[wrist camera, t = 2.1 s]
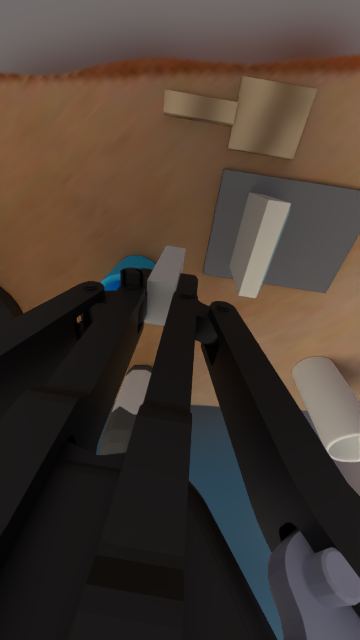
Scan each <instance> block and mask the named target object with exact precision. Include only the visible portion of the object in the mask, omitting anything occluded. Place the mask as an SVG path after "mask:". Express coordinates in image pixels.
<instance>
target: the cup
mask: <svg viewBox="0 0 360 640" xmlns="http://www.w3.org/2000/svg"><path fill="white" fill-rule="evenodd" d="M292 376H293V378H294V381H295V383H296V385H297V387H298V390H299V392H300V394H301V396H302V399H303V401H304V403H305V405H306V407H307V410H308V412H309V414H310V416H311V419H312V421H313V423H314V425H315V428H316V430H317V432H318V434H319V437H320V439H321V441H322V443H323V446H324V447H325V449H326V450H327V452H328V453H329V455H330V457H331V458H333V459H335V460H338V461H343V462H358V461H360V401H359V400H358V398H357V397H356V395H355V394H354V392H353V391H352V389H351V388H350V387H349V385H348V384H347V382H346V381H345V379H344V378H343V376H342V375H341V374H340V372H339V371H338V369H337V368H336V366H335V365H334V363H333V362H332V361H331V360H330V359H328V358H325V357H319V356H317V357H310V358H306V359H304V360H302V361H300V362H299V363H297V364H296V365H295V366H294V368H293V370H292Z"/></svg>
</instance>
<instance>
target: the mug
mask: <svg viewBox="0 0 360 640" xmlns="http://www.w3.org/2000/svg"><path fill="white" fill-rule="evenodd" d="M155 265H156V264H154V263H153V262H152V261H151V260H150V259H148V258H145V257H143V256H138V255H133V256H128V257H126V258H124V259H123V260H121V261H120V262H119V263H118V264H117V265H116V267H115V268H114V269H113V270H112V271H111V272H110V273H109V274H108V275H107V276H106V277H105V278H104V279H103V280H102V282H101V284H103V285H104V290H105V291H114V290H117V289H118V288H119V286H120V285H121V281H120V270H122V269H124V268H130V267H132V268H139V269H141V268H148V269H154V267H155ZM145 319H146V317H145ZM145 319H144V320H145Z"/></svg>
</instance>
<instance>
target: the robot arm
mask: <svg viewBox="0 0 360 640" xmlns="http://www.w3.org/2000/svg"><path fill="white" fill-rule="evenodd" d="M185 250H186V248H180V247H174V246H167V245H166V247H165V249H164V251H163V252H162V254H161V256H160V258H159V260H158V262H157V263H156V265H155V267H154V269H148V268H141V269H139V268H132V267H130V268H124V269H122V270H120V281H121V285H120V286H119V288H118V289H117V290H114V291H105V290H104V285H103V284H101V283H99V282H95V281H92V282H91V281H88V282H84V283H81V284H79V285H77V286H75V287H73V288H71V289H69V290H67V291H65V292H64V293H62V294H60V295H58V296H56V297H54V298H52V299H50V300H48V301H47V302H45V303H43V304H41V305H39V306H37V307H35V308H33V309H32V310H30V311H28V312H26V313H24V314H22V312H21V310H20V308H19V307H18V305H17V304H16V302H15V301H14V300H13V299H12V298H11V297H10V296H9V295H8V294H7V293H6V292H5V291H4V290H3V289H1V288H0V640H277V638H276V636H275V634H274V632H273V630H272V628H271V626H270V625H269V623H268V621H267V619H266V617H265V615H264V613H263V611H262V609H261V607H260V605H259V603H258V602H257V600H256V598H255V596H254V594H253V592H252V590H251V588H250V586H249V584H248V583H247V581H246V579H245V577H244V575H243V573H242V571H241V569H240V567H239V565H238V563H237V561H236V559H235V558H234V556H233V554H232V552H231V550H230V548H229V546H228V544H227V542H226V540H225V539H224V536H223V535H222V533H221V531H220V529H219V527H218V525H217V523H216V521H215V519H214V517H213V515H212V514H211V512H210V510H209V508H208V506H207V504H206V502H205V501H204V499H203V497H202V496H201V495H200V493H199V492H198V490H197V489H196V488H195V487H194V486H193V484H192V483H191V482H190V481H189V465H190V446H191V430H192V413H190V405H191V390H192V375H193V361H194V346H195V340H197V341H199V342H201V348H202V352H203V355H204V358H205V361H206V364H207V367H208V370H209V374H210V377H211V380H212V383H213V386H214V389H215V392H216V396H217V399H218V402H219V405H220V408H221V411H222V414H223V417H224V421H225V424H226V426H227V430H228V433H229V437H230V439H231V443H232V446H233V449H234V452H235V455H236V459H237V461H238V465H239V468H240V471H241V474H242V477H243V481H244V484H245V487H246V490H247V493H248V496H249V499H250V502H251V505H252V508H253V510H254V513H255V516H256V519H257V521H258V524H259V526H260V529H261V531H262V533H263V535H264V537H265V539H266V542H267V544H268V546H269V548H270V550H271V552H272V554H271V556H270V559H269V563H268V579H269V585H270V590H271V593H272V595H273V599H274V601H275V604H276V607H277V610H278V613H279V616H280V619H281V624H282V630H283V635H284V640H360V496H359V495H358V494H357V493H356V492H355V491H354V490H353V488H351V486H350V485H349V484H348V483H347V482H346V480H345V478H344V477H343V475H342V474H341V472H340V471H339V469H338V467H337V466H336V465H335V463H334V461H333V460H332V458H331V457H330V455H329V453H328V452H327V450H326V449H325V447H324V446H323V444H322V443H321V441H320V440H319V438H318V436H317V435H316V433H315V432H314V430H313V429H312V427H311V425H310V424H309V422H308V421H307V419H306V418H305V416H304V414H303V413H302V411H301V410H300V408H299V407H298V405H297V404H296V402H295V400H294V399H293V397H292V396H291V394H290V393H289V391H288V390H287V388H286V386H285V385H284V383H283V382H282V380H281V379H280V377H279V376H278V374H277V372H276V371H275V369H274V368H273V366H272V365H271V363H270V361H269V360H268V358H267V357H266V355H265V354H264V352H263V351H262V349H261V347H260V346H259V344H258V343H257V341H256V340H255V338H254V337H253V335H252V333H251V332H250V330H249V329H248V327H247V326H246V324H245V323H244V321H243V319H242V318H241V316H240V315H239V313H238V312H237V310H236V308H235V307H234V306H233V305H231V304H229V303H227V302H224V301H215V302H212V303H211V304H210V306H208V305H205V304H203V303H201V302H200V301H199V300H198V296H197V286H198V279H197V277H196V276H195V275H189V274H182V271H183V264H184V257H185ZM79 315H81V320H82V321H80V322H79V323H77V319H76V318H77V317H78V316H79ZM145 317H146V320H145V323H147V324H154V325H160V326H164V329H163V333H162V336H161V340H160V344H159V347H158V351H157V355H156V358H155V362H154V365H153V369H152V373H151V376H150V380H149V384H148V387H147V391H146V394H145V398H144V401H143V404H142V405H140V407H139V410H138V413H137V416H136V419H135V423H134V426H133V430H132V433H131V437H130V440H129V444H128V447H127V450H126V452H125V453H116V454H107V455H96V451H97V445H98V441H99V439H100V436H101V434H102V431H103V429H104V426H105V423H106V421H107V418H108V416H109V413H110V411H111V408H112V406H113V403H114V401H115V398H116V396H117V393H118V391H119V388H120V386H121V383H122V381H123V378H124V376H125V373H126V371H127V368H128V366H129V363H130V361H131V358H132V356H133V353H134V351H135V348H136V345H137V343H138V340H139V338H140V335H141V333H142V330H143V326H144V319H145Z"/></svg>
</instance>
